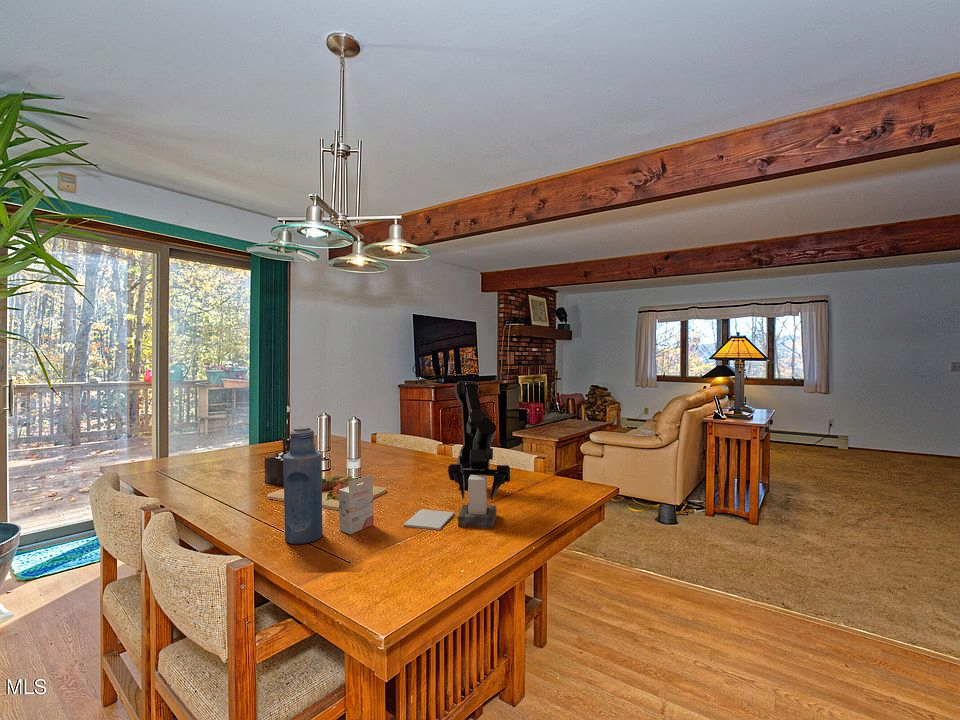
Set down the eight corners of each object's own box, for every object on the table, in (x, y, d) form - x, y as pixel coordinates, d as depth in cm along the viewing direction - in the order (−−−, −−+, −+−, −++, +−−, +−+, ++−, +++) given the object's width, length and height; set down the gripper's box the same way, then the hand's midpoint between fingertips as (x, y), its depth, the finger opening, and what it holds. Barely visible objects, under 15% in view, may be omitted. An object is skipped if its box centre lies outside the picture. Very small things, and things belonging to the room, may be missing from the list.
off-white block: (468, 523, 135) (468, 479, 135) (470, 517, 140) (470, 474, 140) (485, 524, 135) (485, 479, 134) (487, 518, 140) (486, 475, 139)
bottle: (327, 530, 131) (326, 424, 130) (316, 545, 121) (314, 430, 120) (292, 531, 130) (291, 424, 130) (278, 546, 120) (277, 430, 120)
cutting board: (389, 492, 167) (388, 471, 167) (346, 514, 146) (346, 490, 145) (313, 482, 181) (312, 463, 181) (263, 500, 159) (263, 478, 159)
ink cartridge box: (362, 521, 137) (362, 472, 137) (374, 525, 134) (373, 474, 134) (338, 530, 131) (337, 478, 130) (349, 534, 128) (348, 481, 127)
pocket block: (458, 526, 133) (458, 516, 133) (463, 514, 143) (463, 504, 143) (493, 528, 132) (493, 517, 132) (496, 515, 142) (496, 505, 142)
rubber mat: (403, 526, 133) (403, 524, 133) (421, 511, 146) (421, 509, 146) (439, 530, 131) (439, 527, 131) (454, 514, 143) (454, 512, 143)
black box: (262, 482, 178) (261, 435, 178) (286, 475, 188) (286, 431, 188) (289, 488, 171) (288, 439, 170) (313, 480, 180) (312, 434, 180)
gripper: (448, 437, 142) (441, 483, 131) (509, 438, 140) (508, 485, 129) (453, 457, 150) (447, 502, 139) (511, 458, 148) (509, 504, 137)
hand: (477, 498), depth 136 cm, fingers open, 8 cm apart
